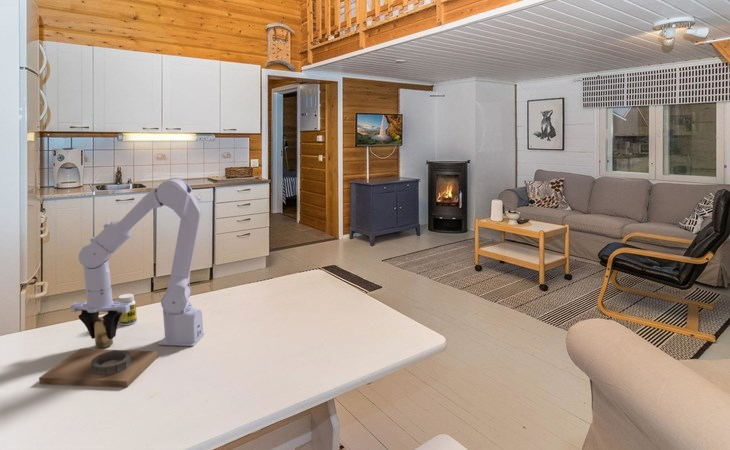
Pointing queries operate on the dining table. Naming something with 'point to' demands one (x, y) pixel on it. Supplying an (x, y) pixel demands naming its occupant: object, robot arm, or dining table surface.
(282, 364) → the dining table surface
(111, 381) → the jig board
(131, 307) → the supplement bottle
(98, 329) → the cylinder
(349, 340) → the dining table surface
